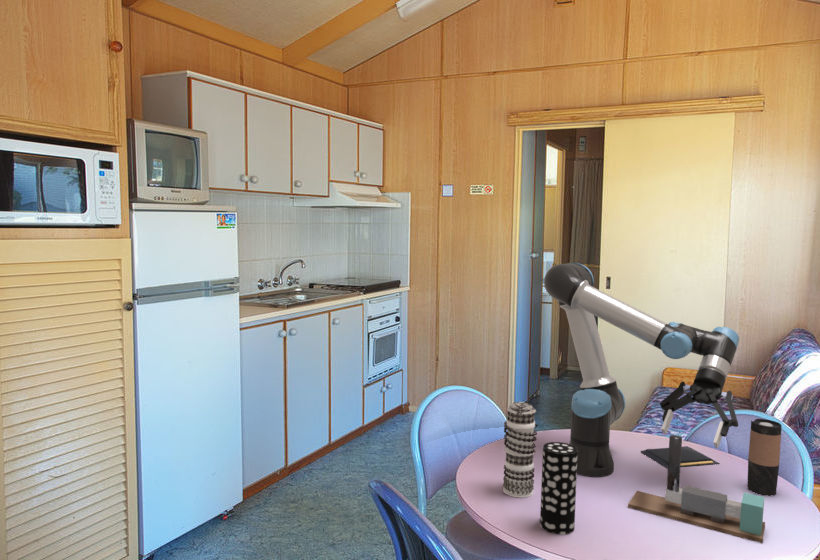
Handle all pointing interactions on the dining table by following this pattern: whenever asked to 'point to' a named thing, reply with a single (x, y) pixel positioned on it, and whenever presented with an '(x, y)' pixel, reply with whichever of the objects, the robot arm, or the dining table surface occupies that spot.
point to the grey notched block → (703, 503)
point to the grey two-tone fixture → (673, 479)
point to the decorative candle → (519, 450)
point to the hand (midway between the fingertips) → (688, 438)
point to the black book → (687, 457)
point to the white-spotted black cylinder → (558, 487)
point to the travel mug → (764, 456)
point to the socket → (752, 513)
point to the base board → (673, 511)
